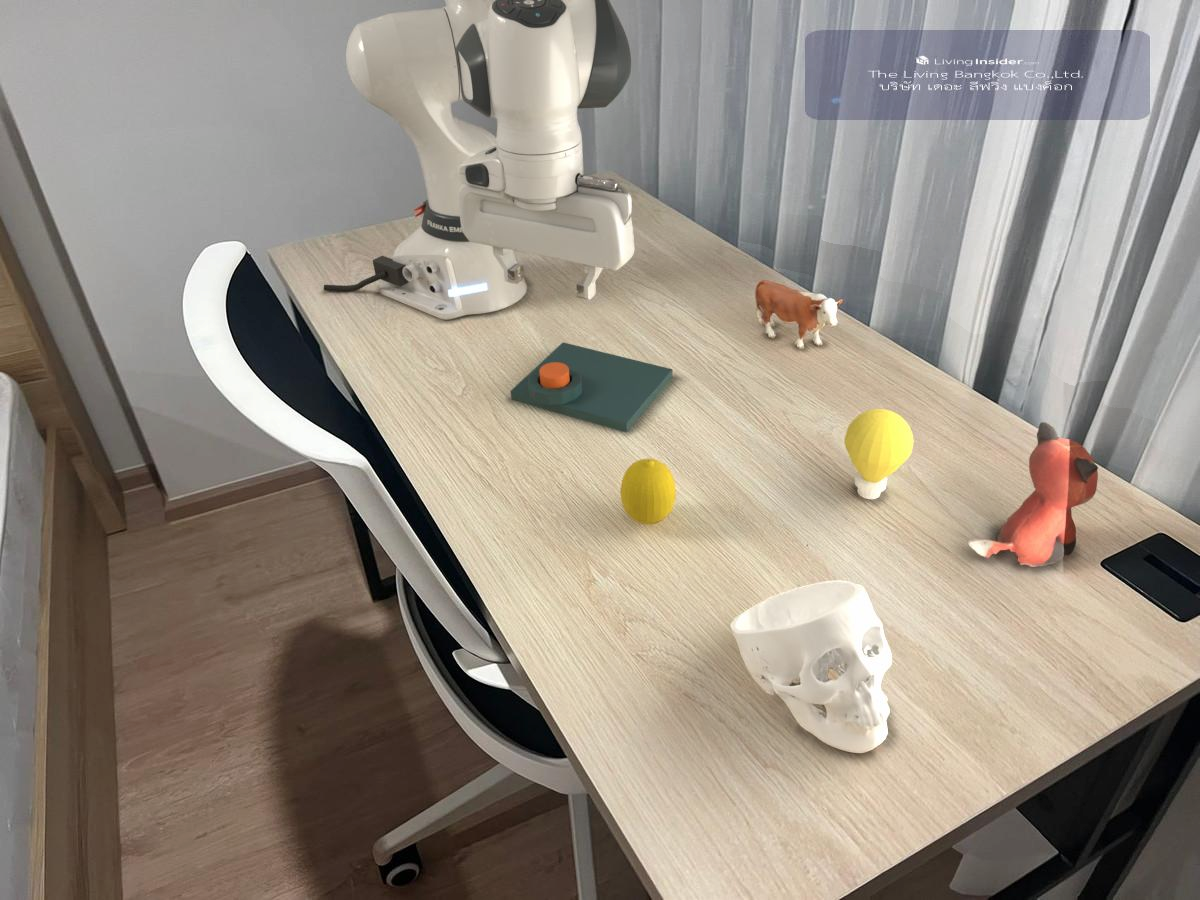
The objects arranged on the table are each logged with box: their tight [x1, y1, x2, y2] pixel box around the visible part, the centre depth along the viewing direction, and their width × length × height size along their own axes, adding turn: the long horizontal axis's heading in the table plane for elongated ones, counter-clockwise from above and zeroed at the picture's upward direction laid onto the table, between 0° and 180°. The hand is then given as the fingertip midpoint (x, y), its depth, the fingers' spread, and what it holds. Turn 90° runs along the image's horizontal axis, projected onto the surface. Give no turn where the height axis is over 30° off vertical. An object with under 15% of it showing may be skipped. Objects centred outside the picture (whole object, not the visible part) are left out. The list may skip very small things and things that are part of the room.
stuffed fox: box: [967, 421, 1099, 568], centre depth 84 cm, size 8×11×12 cm
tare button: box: [539, 362, 570, 389], centre depth 109 cm, size 4×4×2 cm
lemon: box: [620, 458, 677, 525], centre depth 90 cm, size 6×6×8 cm
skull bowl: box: [730, 579, 893, 754], centre depth 74 cm, size 10×14×12 cm
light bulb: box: [844, 408, 914, 500], centre depth 92 cm, size 7×7×10 cm
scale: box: [510, 342, 673, 433], centre depth 112 cm, size 16×14×3 cm
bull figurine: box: [754, 279, 844, 350], centre depth 118 cm, size 4×13×8 cm, turn 41°
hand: (549, 288), depth 102 cm, fingers open, 8 cm apart
